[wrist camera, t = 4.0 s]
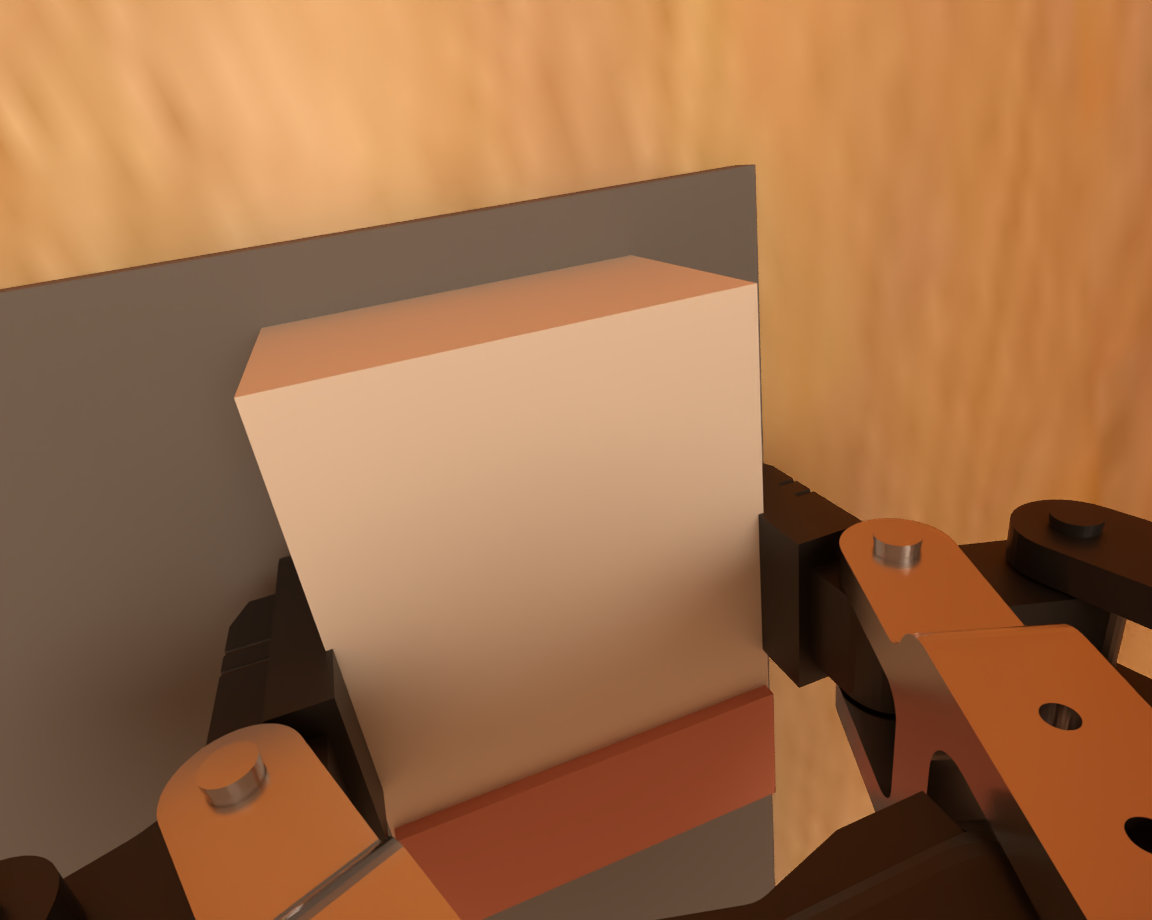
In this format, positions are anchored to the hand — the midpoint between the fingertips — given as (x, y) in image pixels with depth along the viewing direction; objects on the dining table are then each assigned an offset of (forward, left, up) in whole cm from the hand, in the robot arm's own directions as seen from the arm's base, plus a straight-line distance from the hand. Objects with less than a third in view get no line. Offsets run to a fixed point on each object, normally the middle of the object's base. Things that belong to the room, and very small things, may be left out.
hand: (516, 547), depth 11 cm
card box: (0, 0, -1) cm, 1 cm away
